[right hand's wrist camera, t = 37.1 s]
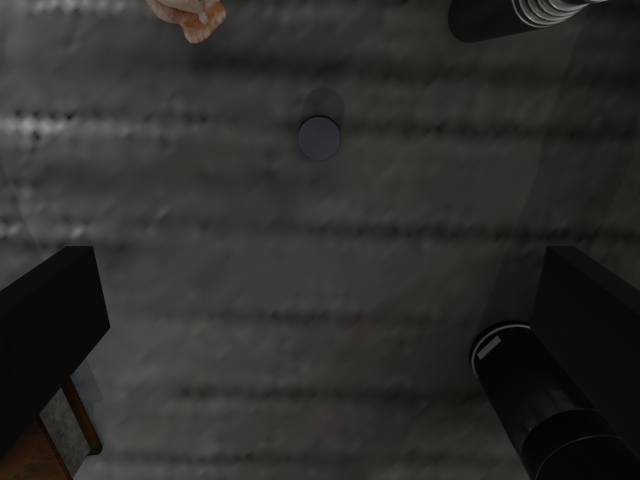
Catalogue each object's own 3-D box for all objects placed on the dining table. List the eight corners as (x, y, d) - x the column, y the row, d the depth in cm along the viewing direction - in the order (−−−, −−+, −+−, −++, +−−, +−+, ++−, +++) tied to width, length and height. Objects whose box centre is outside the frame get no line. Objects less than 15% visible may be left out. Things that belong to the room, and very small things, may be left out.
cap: (328, 163, 44) (328, 167, 42) (291, 145, 43) (290, 148, 41) (346, 126, 42) (348, 129, 40) (309, 107, 42) (309, 108, 40)
